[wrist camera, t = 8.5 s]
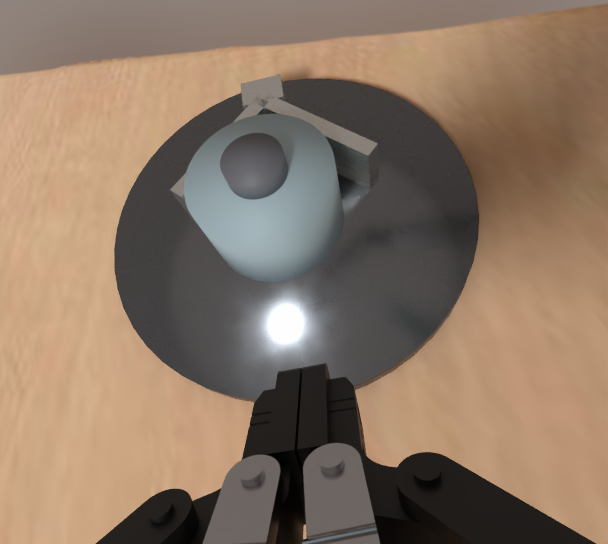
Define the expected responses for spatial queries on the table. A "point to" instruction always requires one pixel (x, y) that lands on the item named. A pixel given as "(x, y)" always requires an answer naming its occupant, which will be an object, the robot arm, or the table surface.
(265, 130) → the cover
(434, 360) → the table surface
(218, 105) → the turntable
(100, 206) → the table surface
